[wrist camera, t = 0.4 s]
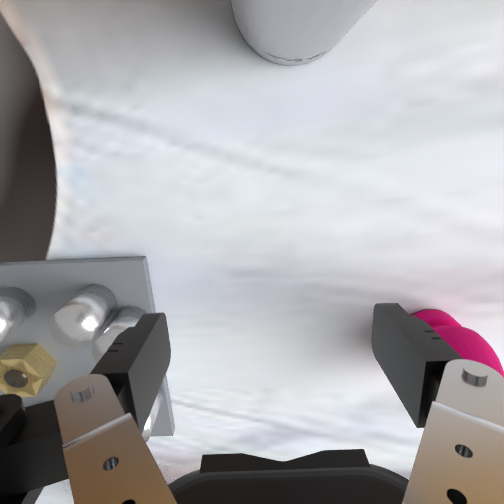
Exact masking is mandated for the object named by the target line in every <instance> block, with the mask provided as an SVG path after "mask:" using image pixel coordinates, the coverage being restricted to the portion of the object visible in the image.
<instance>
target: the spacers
mask: <svg viewBox="0 0 504 504" xmlns="http://www.w3.org/2000/svg"><path fill="white" fill-rule="evenodd" d="M116 306H117V299H116V296H115V295H114V293H113V292H112V291H111V290H110V289H109V288H108V287H106V286H104V285H101V284H90V285H87V286H86V287H84V288H83V289H82V290H81V291H80V292H79V293H78V294H76V295H75V296H74V297H73V298H72V299H71V300H70V301H69V302H68V303H67V304H66V305H64V306H63V307H62V308H61V309H60V310H59V311H58V312H57V313H56V314H55V315H53V317H52V318H51V319H50V321H49V331H50V334H51V335H52V337H53V338H54V339H55V340H56V341H57V342H58V343H59V344H61V345H63V346H65V347H69V348H81V347H84V346H86V345H87V344H89V343H90V341H91V340H92V339H93V338H94V336H95V335H96V334H97V332H98V331H99V330H100V329H101V327H102V326H103V325H104V323H105V322H106V321H107V320H108V318H109V317H110V316H111V314H112V313H113V312H114V311H115V309H116ZM35 310H36V304H35V301H34V299H33V298H32V296H31V295H30V294H29V293H28V292H26V291H25V290H23V289H20V288H17V287H8V288H5V289H3V290H1V291H0V342H1V341H2V340H4V339H5V338H6V337H7V336H8V335H10V334H11V333H12V332H13V331H14V330H16V329H17V328H18V327H19V326H20V325H22V324H23V323H24V322H25V321H27V320H28V319H29V318H30V317H31V316H32V315H33V314H34V313H35ZM144 313H147V312H146V311H145V310H143V309H142V308H140V307H137V306H125V307H123V308H121V309H120V310H119V311H118V312H117V313H116V315H115V316H114V317H113V319H112V320H111V321H110V323H109V324H108V325H107V327H106V328H105V329H104V330H103V332H102V333H101V334H100V336H99V337H98V338H97V340H96V341H95V342H94V344H93V346H92V350H91V352H92V356H93V359H94V360H95V362H96V363H98V362H99V360H100V359H101V358H102V356H103V355H104V354H105V352H107V349H108V348H109V347H110V345H112V343H113V341H114V340H115V339H116V337H117V336H118V335H119V334H120V333H121V332H123V331H124V330H126V329H127V328H128V327H135V325H136V324H137V322H138V321H139V319H140V318H141V316H142V315H143V314H144ZM163 396H164V391H163V389H162V387H160V389H159V392H158V394H157V397H156V399H155V402H154V405H153V407H152V410H151V412H150V415H149V417H148V420H147V422H146V425H145V427H144V430H143V432H142V436H143V438H144V440H145V442H147V441H148V439H149V437H150V435H151V432H152V429H153V426H154V423H155V420H156V417H157V414H158V411H159V408H160V405H161V402H162V399H163ZM44 402H47V401H44ZM42 403H43V402H42Z"/></svg>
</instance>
